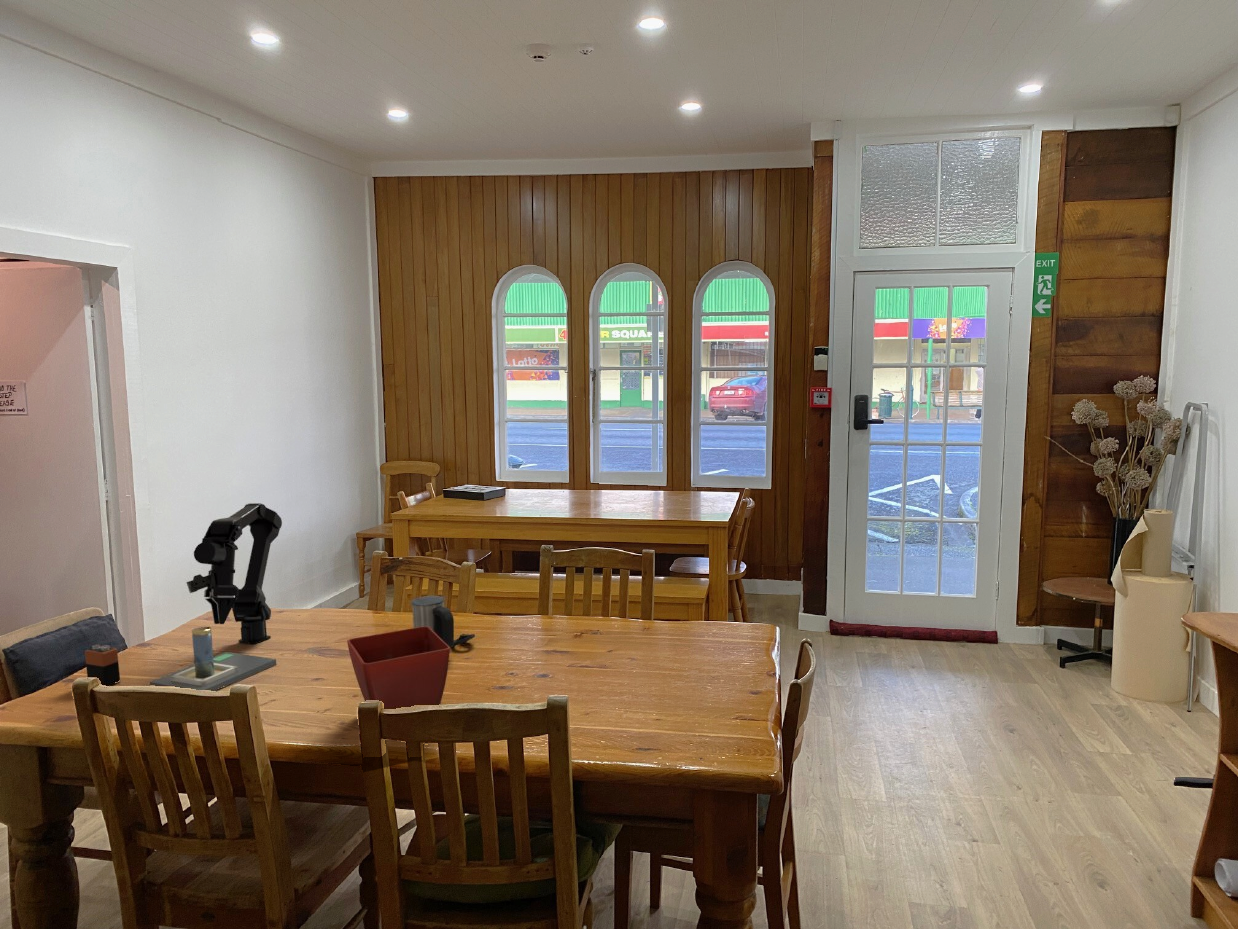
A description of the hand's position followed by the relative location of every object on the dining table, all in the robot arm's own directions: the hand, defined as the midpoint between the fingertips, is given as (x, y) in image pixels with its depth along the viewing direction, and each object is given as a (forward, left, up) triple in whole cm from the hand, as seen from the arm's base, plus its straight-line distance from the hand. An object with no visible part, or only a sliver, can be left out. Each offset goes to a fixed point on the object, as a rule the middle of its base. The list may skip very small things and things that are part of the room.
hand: (219, 624), depth 234 cm
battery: (+22, -17, -11) cm, 30 cm away
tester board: (+8, +6, -11) cm, 15 cm away
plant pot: (+12, +68, -11) cm, 70 cm away
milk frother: (-30, +51, -11) cm, 60 cm away
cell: (+12, +7, -9) cm, 17 cm away
